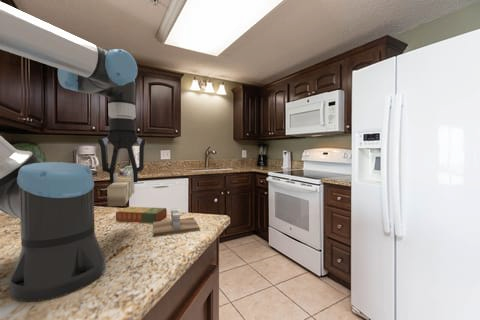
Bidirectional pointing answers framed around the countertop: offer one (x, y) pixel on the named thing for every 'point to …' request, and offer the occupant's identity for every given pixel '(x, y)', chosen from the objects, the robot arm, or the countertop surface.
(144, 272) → the countertop surface
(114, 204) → the beam
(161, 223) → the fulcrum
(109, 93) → the robot arm
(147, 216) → the carton
